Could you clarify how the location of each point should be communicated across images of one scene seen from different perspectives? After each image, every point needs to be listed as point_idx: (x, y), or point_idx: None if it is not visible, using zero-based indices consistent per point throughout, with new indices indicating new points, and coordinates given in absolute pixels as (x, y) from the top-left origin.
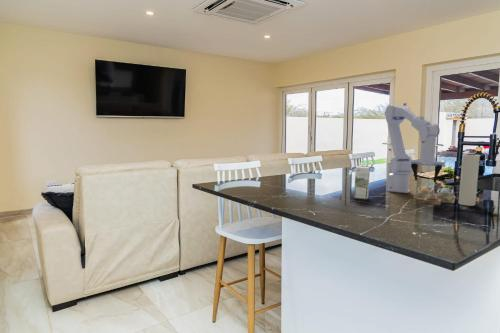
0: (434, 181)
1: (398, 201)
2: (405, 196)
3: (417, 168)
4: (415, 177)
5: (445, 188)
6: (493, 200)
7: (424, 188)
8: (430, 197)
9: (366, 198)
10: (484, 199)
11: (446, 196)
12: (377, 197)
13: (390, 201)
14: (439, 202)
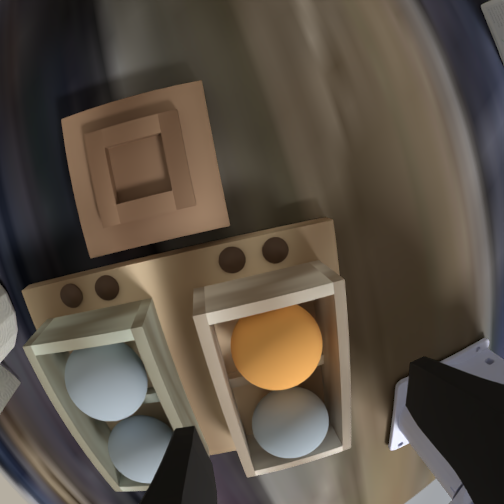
0: (183, 432)
1: (366, 34)
2: (393, 271)
3: (495, 500)
4: (448, 371)
5: (135, 463)
6: (13, 483)
7: (283, 344)
8: (164, 192)
9: (483, 3)
10: (38, 488)
11: (70, 324)
12: (486, 95)
13: (397, 9)
14: (69, 119)
